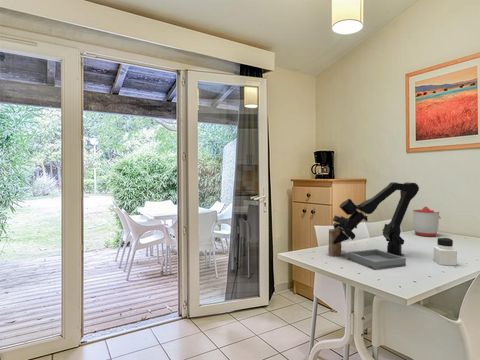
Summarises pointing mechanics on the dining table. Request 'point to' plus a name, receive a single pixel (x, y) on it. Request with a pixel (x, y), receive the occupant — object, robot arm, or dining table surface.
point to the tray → (376, 259)
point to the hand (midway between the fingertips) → (332, 242)
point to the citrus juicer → (426, 222)
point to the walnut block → (333, 248)
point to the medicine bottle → (445, 252)
